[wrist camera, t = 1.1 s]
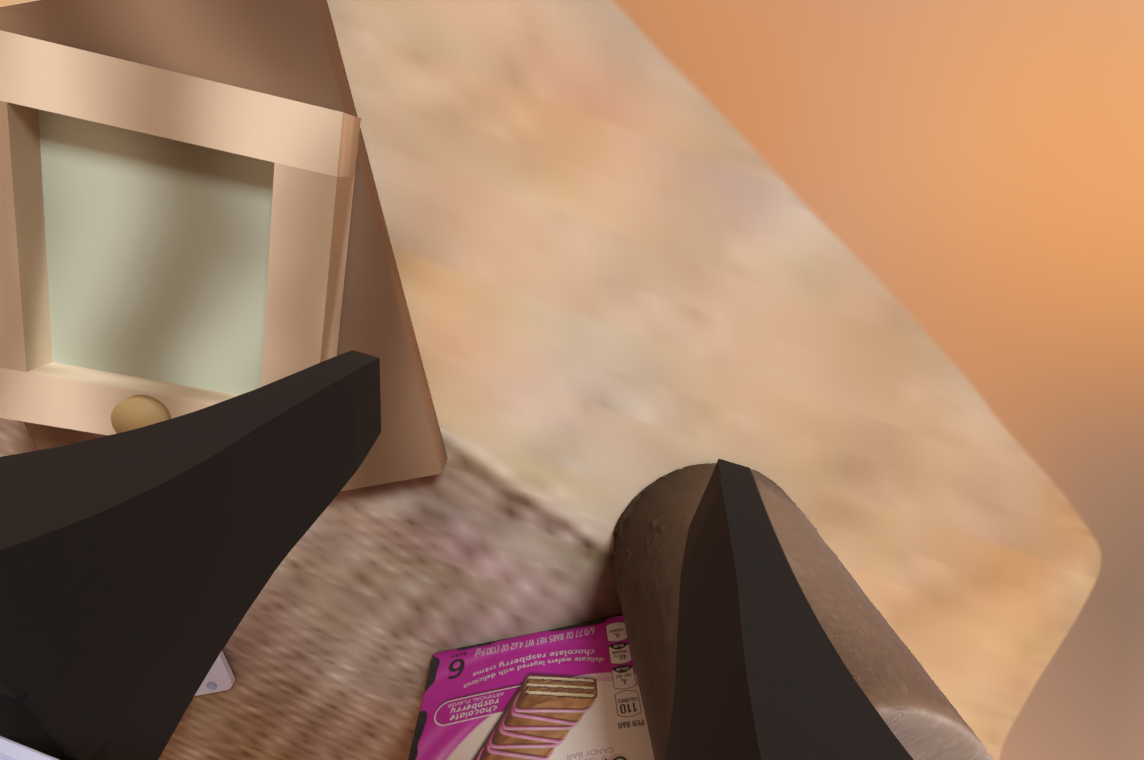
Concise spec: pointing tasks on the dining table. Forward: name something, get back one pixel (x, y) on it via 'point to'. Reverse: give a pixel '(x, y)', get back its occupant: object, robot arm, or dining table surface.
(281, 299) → the cabinet door with knob
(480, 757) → the candy bar box
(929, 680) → the pillar candle
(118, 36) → the walnut board
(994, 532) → the dining table surface
